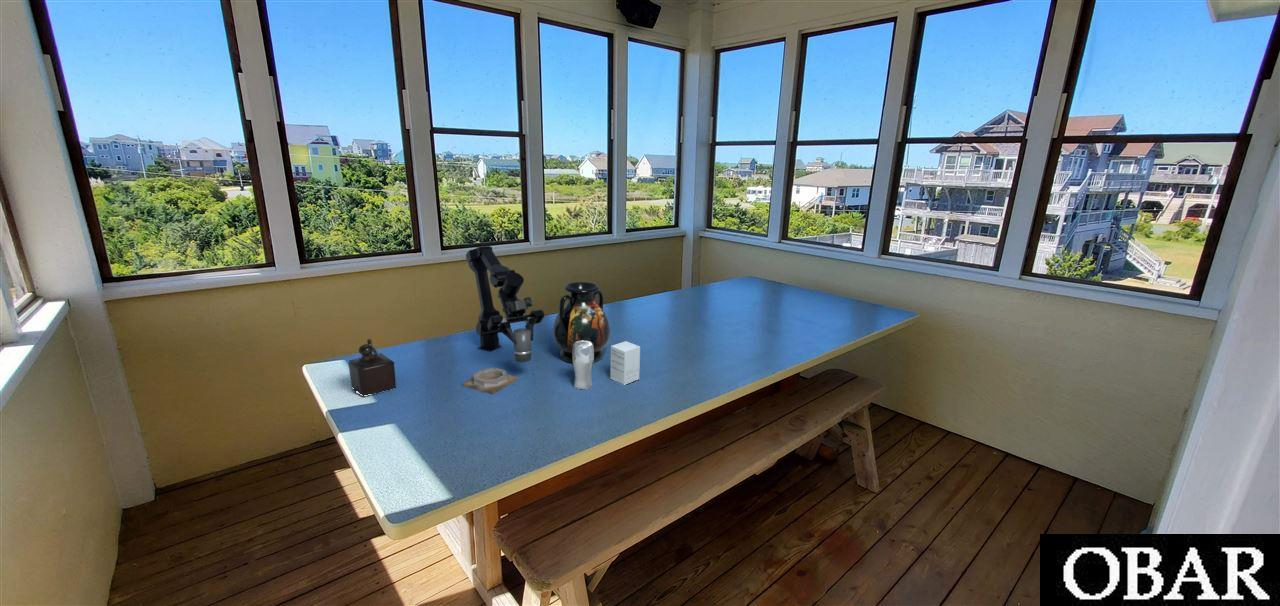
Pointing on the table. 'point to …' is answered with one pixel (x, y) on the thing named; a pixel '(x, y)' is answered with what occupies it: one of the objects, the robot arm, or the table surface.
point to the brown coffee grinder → (371, 371)
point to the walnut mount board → (490, 389)
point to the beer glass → (583, 363)
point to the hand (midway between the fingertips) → (523, 341)
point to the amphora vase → (581, 320)
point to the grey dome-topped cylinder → (522, 345)
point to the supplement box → (625, 362)
